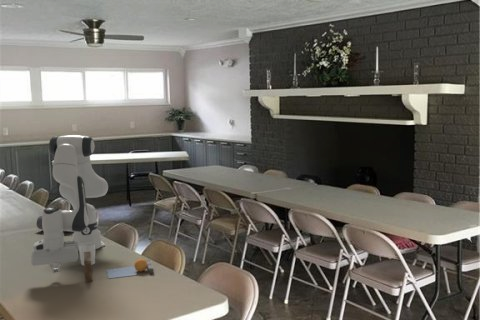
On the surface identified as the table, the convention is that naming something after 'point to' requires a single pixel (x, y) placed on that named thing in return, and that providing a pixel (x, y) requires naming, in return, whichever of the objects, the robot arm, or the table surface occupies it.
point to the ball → (140, 265)
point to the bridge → (87, 266)
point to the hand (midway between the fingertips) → (56, 272)
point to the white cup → (86, 248)
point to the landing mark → (121, 272)
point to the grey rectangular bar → (149, 267)
